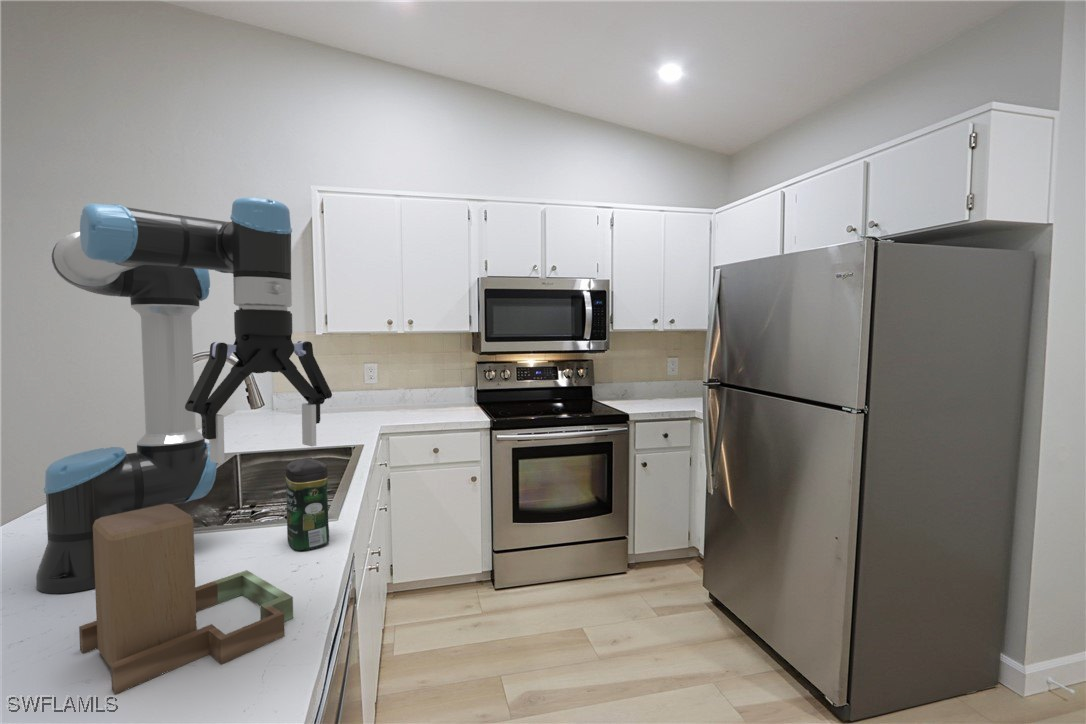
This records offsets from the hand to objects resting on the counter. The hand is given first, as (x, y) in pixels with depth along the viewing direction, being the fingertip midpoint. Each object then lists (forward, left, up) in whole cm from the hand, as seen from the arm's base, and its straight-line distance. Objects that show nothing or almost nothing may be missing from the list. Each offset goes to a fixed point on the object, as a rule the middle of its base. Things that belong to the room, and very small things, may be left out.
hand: (266, 453), depth 80 cm
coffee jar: (-31, +23, -29) cm, 48 cm away
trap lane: (-12, -7, -29) cm, 32 cm away
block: (-12, -12, -29) cm, 33 cm away
